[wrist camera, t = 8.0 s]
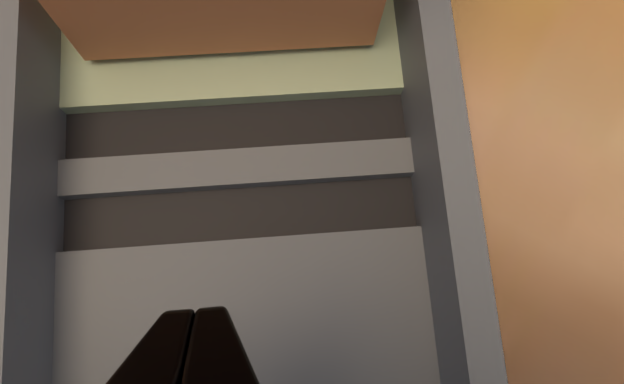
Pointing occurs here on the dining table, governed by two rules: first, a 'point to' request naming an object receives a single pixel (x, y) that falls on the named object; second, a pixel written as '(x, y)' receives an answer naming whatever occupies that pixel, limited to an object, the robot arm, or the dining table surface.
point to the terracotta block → (211, 25)
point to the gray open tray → (245, 206)
